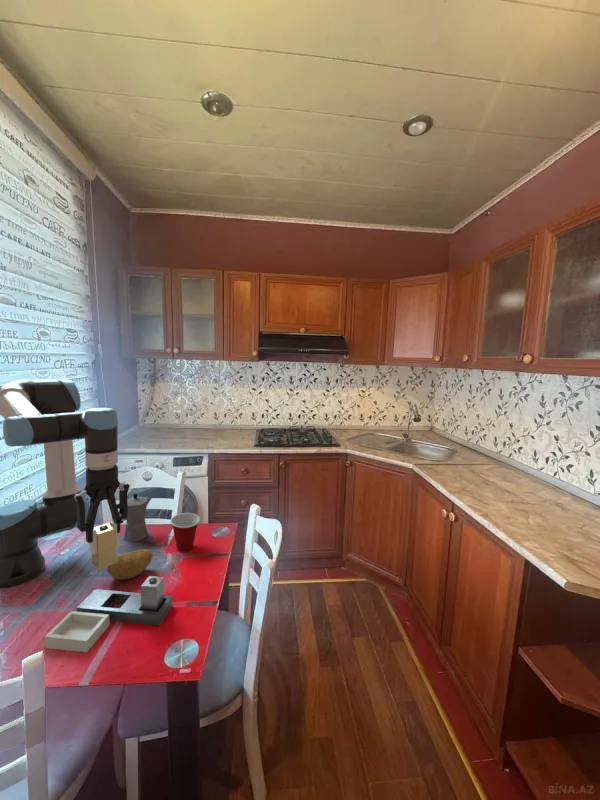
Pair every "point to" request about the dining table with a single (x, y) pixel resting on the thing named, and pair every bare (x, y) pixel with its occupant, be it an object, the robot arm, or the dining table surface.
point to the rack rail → (124, 607)
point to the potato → (130, 564)
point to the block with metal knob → (105, 546)
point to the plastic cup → (185, 530)
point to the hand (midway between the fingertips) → (103, 548)
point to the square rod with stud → (152, 594)
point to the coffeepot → (136, 518)
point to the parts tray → (77, 631)
